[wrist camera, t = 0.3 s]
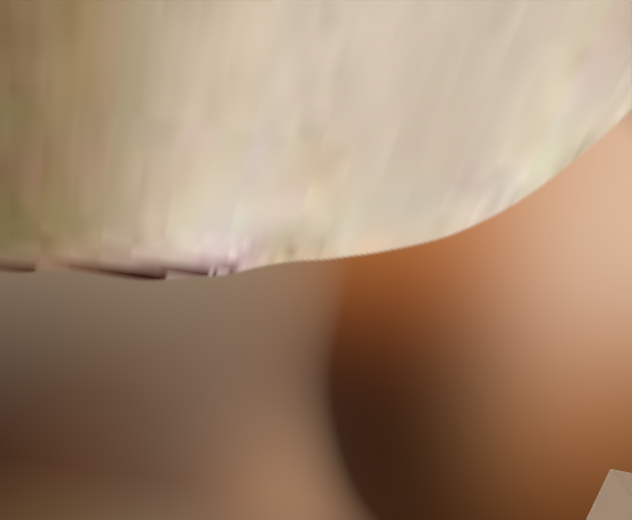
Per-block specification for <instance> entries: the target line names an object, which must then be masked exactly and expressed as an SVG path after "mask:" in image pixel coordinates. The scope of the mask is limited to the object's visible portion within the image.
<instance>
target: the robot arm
mask: <svg viewBox="0 0 632 520" xmlns="http://www.w3.org/2000/svg"><path fill="white" fill-rule="evenodd" d="M586 520H632V473H628V472H623V471H618V470H612V469H610V471H609V473H608V475H607V477H606V479H605V482H604V484H603V486H602V488H601V490H600V492H599V494H598V496H597V498H596V500H595V503H594V504H593V506H592V509H591V511H590V513H589V515H588V517H587V519H586Z"/></svg>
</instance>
